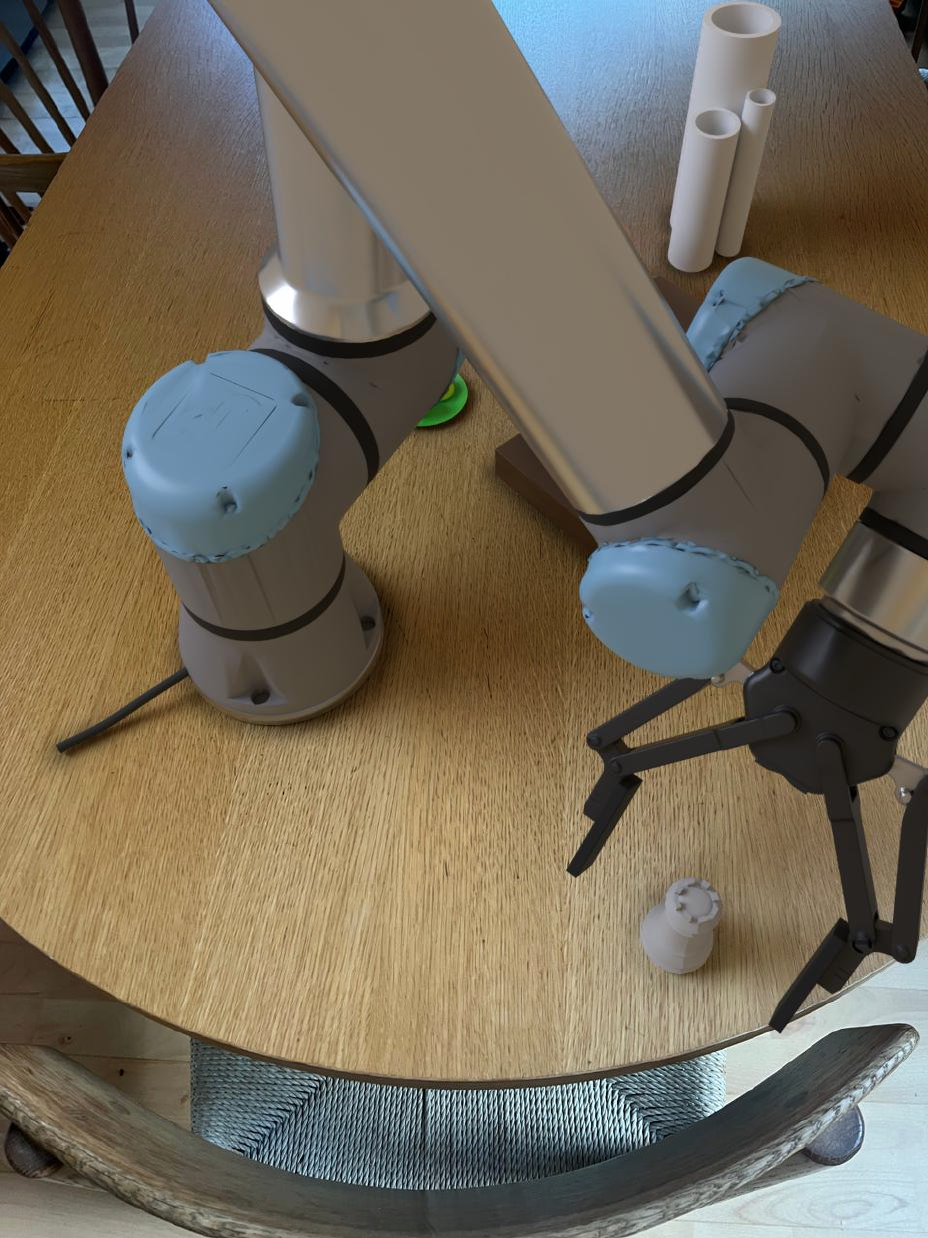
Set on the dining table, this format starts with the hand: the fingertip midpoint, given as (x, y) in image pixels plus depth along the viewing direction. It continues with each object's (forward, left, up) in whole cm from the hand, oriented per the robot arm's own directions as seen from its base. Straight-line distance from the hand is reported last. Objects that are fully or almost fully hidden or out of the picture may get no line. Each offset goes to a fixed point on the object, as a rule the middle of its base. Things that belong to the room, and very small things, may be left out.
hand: (674, 940), depth 57 cm
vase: (+56, +47, -5) cm, 73 cm away
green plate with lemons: (+20, +48, -5) cm, 53 cm away
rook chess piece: (+2, 0, -5) cm, 6 cm away
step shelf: (+28, +30, -5) cm, 41 cm away
